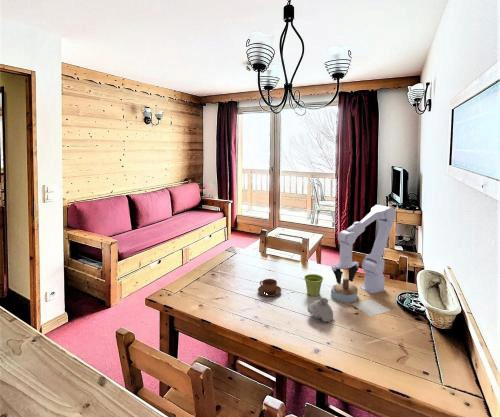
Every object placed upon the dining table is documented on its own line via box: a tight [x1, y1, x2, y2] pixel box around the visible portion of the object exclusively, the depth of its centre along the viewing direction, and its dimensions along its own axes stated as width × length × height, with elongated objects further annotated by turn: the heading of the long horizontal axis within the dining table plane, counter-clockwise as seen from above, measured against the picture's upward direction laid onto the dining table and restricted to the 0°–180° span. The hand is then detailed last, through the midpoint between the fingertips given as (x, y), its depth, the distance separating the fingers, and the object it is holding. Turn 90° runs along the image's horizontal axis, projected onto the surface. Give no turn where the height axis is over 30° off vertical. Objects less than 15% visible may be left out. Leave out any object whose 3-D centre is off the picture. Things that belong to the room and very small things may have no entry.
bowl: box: [330, 284, 358, 303], centre depth 157 cm, size 12×12×4 cm
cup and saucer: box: [257, 278, 282, 297], centre depth 163 cm, size 12×12×6 cm
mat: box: [351, 299, 392, 317], centre depth 146 cm, size 12×12×1 cm
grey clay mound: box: [306, 297, 334, 323], centre depth 138 cm, size 12×12×11 cm
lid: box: [334, 278, 358, 295], centre depth 156 cm, size 11×11×6 cm
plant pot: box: [303, 273, 324, 297], centre depth 161 cm, size 9×9×9 cm
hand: (344, 282), depth 156 cm, fingers open, 7 cm apart
